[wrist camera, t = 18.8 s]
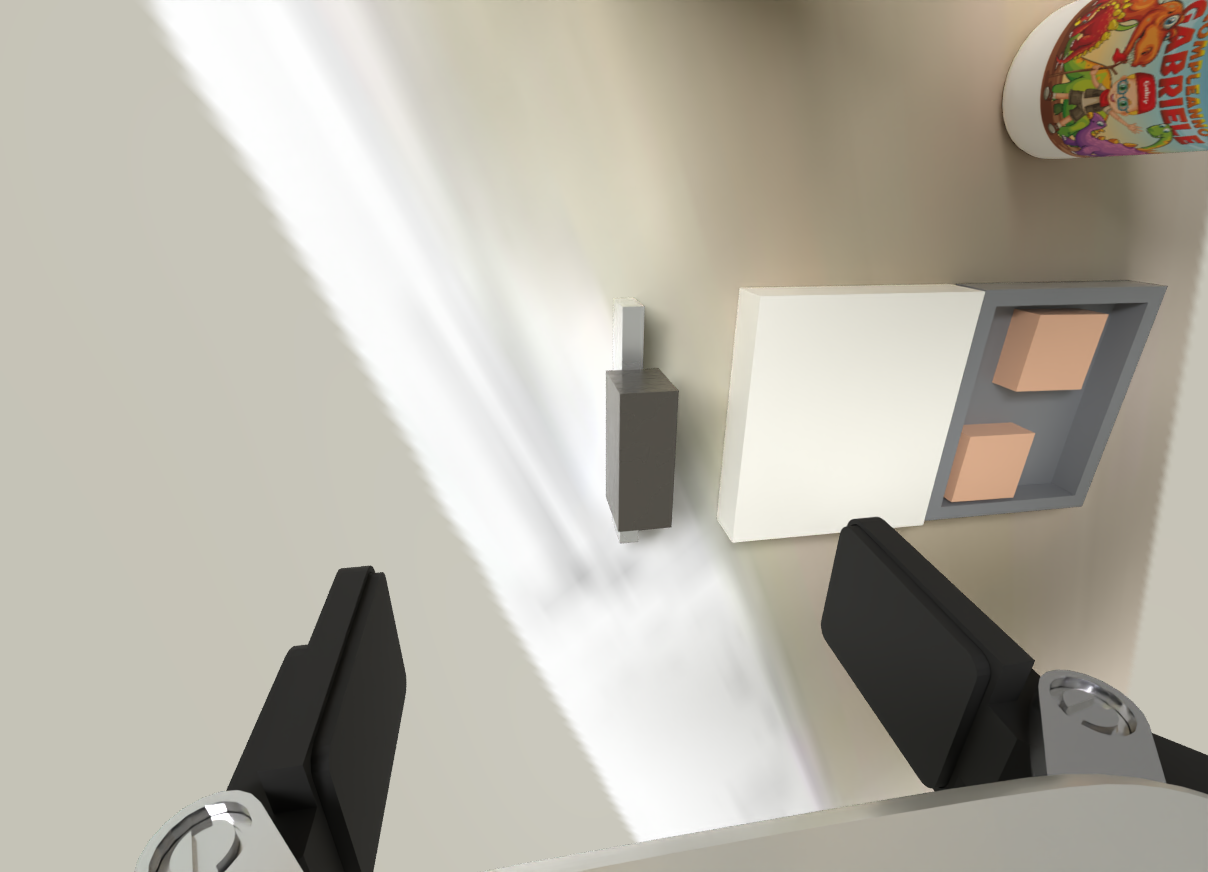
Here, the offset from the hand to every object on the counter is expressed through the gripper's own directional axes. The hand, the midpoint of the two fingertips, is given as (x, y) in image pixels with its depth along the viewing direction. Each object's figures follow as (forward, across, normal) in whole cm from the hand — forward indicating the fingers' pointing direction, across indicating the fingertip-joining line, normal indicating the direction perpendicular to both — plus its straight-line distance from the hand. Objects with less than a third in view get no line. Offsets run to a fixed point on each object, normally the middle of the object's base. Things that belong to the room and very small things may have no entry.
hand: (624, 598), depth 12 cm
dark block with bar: (+24, -4, +7) cm, 25 cm away
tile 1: (+23, -30, +11) cm, 40 cm away
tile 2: (+22, -33, +3) cm, 39 cm away
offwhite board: (+24, -18, +7) cm, 31 cm away
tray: (+24, -32, +7) cm, 41 cm away
